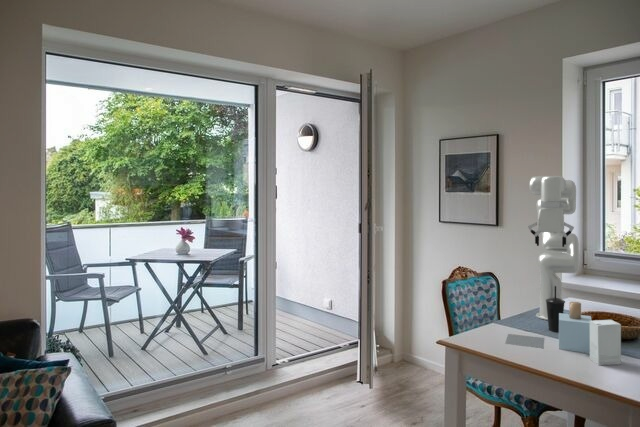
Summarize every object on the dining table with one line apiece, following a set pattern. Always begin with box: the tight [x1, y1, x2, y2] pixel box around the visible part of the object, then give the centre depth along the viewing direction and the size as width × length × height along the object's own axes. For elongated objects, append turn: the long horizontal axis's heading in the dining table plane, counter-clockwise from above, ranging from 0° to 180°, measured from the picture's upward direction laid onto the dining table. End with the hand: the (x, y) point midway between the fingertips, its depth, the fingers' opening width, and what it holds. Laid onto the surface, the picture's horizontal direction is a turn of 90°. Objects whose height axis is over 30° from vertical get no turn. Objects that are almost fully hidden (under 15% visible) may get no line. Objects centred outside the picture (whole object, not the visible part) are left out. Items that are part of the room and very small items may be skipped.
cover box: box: [558, 301, 593, 355], centre depth 183 cm, size 11×11×18 cm
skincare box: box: [589, 319, 622, 366], centre depth 167 cm, size 8×6×15 cm
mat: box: [504, 333, 545, 349], centre depth 191 cm, size 14×14×1 cm
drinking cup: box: [546, 286, 566, 333], centre depth 204 cm, size 8×8×20 cm
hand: (550, 246), depth 197 cm, fingers open, 9 cm apart
